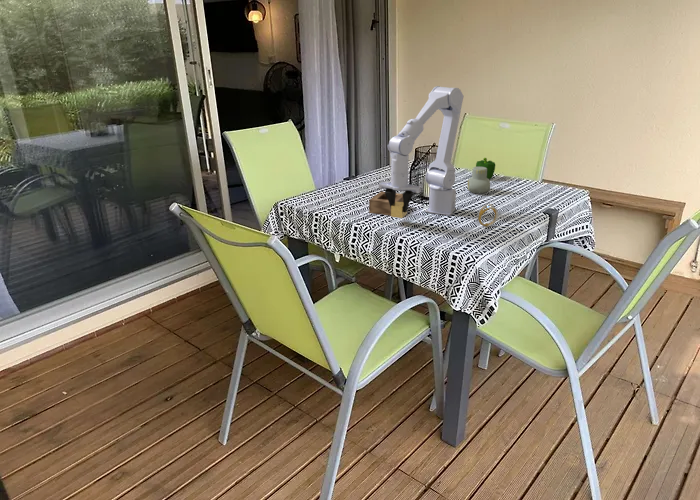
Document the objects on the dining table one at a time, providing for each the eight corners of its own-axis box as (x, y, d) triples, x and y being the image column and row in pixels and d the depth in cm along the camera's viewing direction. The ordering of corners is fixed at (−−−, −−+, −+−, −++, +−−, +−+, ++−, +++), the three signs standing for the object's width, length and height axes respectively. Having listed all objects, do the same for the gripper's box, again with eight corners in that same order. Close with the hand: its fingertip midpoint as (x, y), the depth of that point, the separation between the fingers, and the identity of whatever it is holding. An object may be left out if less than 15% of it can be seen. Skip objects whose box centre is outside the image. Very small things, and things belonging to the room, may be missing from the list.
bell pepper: (482, 175, 236) (484, 154, 232) (497, 178, 230) (499, 156, 226) (470, 178, 231) (472, 156, 227) (485, 182, 225) (487, 159, 221)
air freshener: (490, 195, 207) (492, 171, 203) (469, 195, 208) (470, 171, 204) (486, 188, 217) (488, 165, 213) (466, 188, 218) (468, 164, 214)
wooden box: (405, 206, 196) (405, 194, 194) (394, 216, 186) (394, 202, 184) (381, 203, 200) (381, 191, 198) (369, 212, 190) (369, 199, 188)
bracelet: (494, 224, 176) (496, 202, 173) (498, 227, 173) (500, 205, 170) (475, 225, 175) (477, 203, 172) (479, 229, 172) (481, 206, 169)
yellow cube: (406, 213, 180) (407, 202, 178) (401, 218, 176) (402, 207, 174) (396, 212, 181) (396, 201, 180) (391, 216, 177) (391, 205, 176)
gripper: (375, 173, 172) (375, 211, 177) (416, 177, 166) (415, 216, 172) (383, 168, 178) (383, 205, 183) (423, 172, 172) (421, 210, 177)
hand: (399, 210), depth 178 cm, fingers closed on yellow cube, 4 cm apart
